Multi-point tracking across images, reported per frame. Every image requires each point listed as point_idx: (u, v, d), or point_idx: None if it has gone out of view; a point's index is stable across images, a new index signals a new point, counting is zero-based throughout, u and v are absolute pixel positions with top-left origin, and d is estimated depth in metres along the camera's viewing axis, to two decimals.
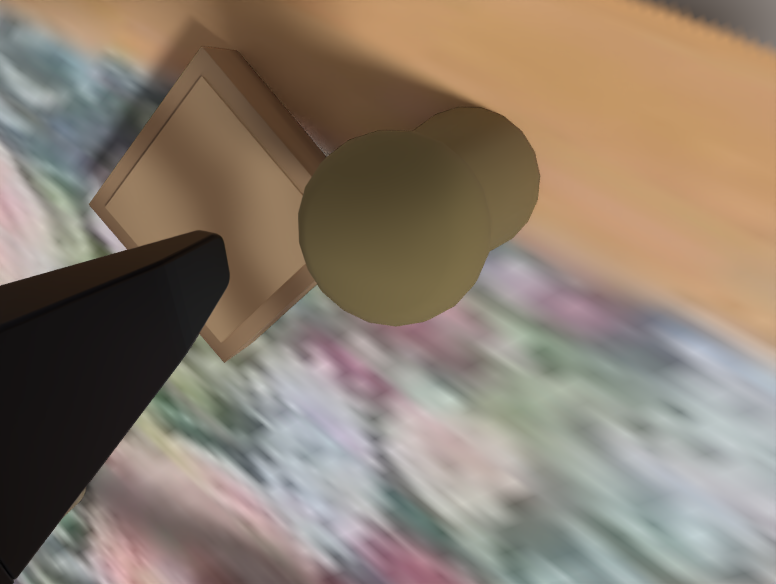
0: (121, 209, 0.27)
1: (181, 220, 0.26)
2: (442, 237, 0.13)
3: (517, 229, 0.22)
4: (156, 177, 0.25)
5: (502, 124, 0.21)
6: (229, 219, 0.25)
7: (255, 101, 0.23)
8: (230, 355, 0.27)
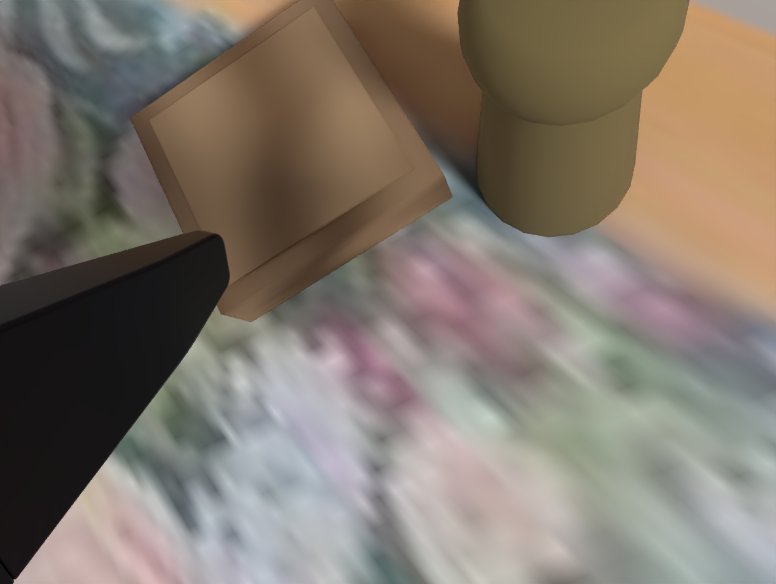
0: (167, 124, 0.24)
1: (235, 140, 0.23)
2: None
3: (613, 199, 0.20)
4: (223, 94, 0.24)
5: None
6: (292, 143, 0.22)
7: None
8: (232, 304, 0.22)
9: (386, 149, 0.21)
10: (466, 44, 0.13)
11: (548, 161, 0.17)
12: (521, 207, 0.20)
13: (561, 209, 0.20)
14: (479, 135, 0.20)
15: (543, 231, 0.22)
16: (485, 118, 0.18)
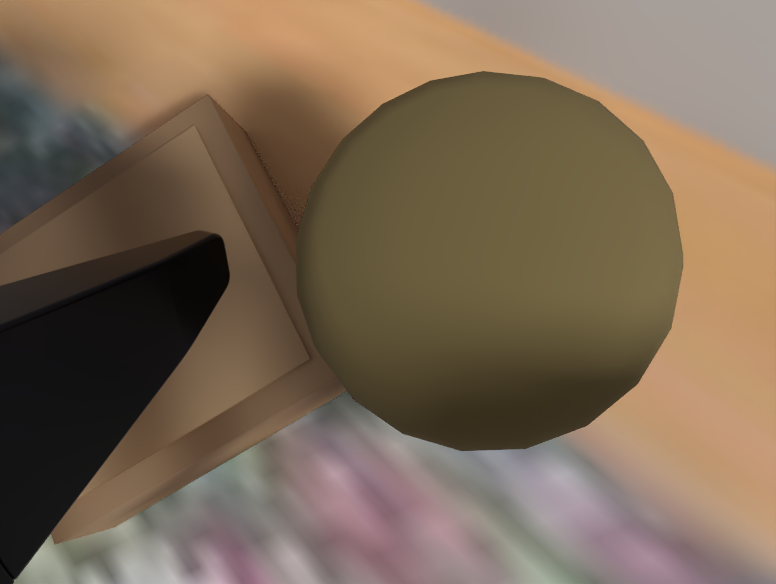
0: (7, 271, 0.18)
1: None
2: (628, 232, 0.06)
3: None
4: (77, 236, 0.18)
5: None
6: None
7: (252, 171, 0.18)
8: (70, 532, 0.16)
9: (275, 330, 0.16)
10: None
11: None
12: None
13: None
14: None
15: None
16: None
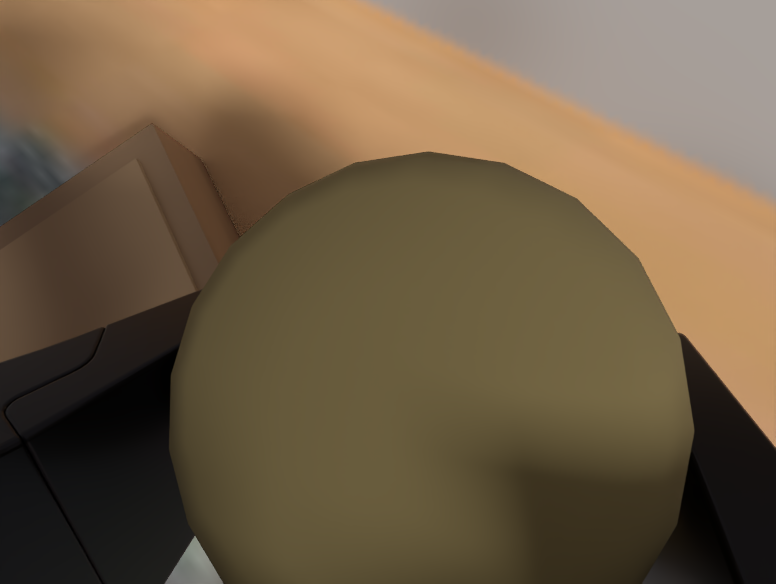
0: None
1: None
2: (614, 421, 0.04)
3: None
4: (6, 283, 0.16)
5: None
6: None
7: (202, 210, 0.16)
8: None
9: None
10: None
11: None
12: None
13: None
14: None
15: None
16: None
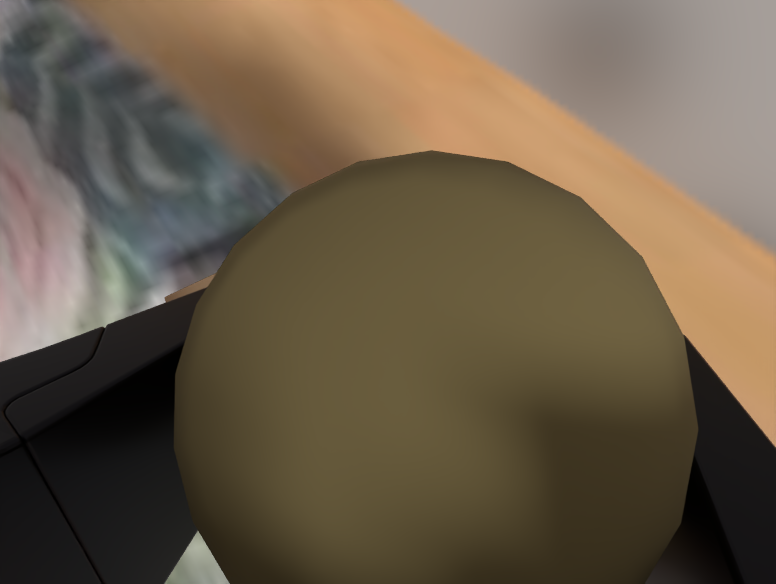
0: None
1: None
2: (618, 418, 0.04)
3: None
4: None
5: None
6: None
7: None
8: None
9: None
10: None
11: None
12: None
13: None
14: None
15: None
16: None
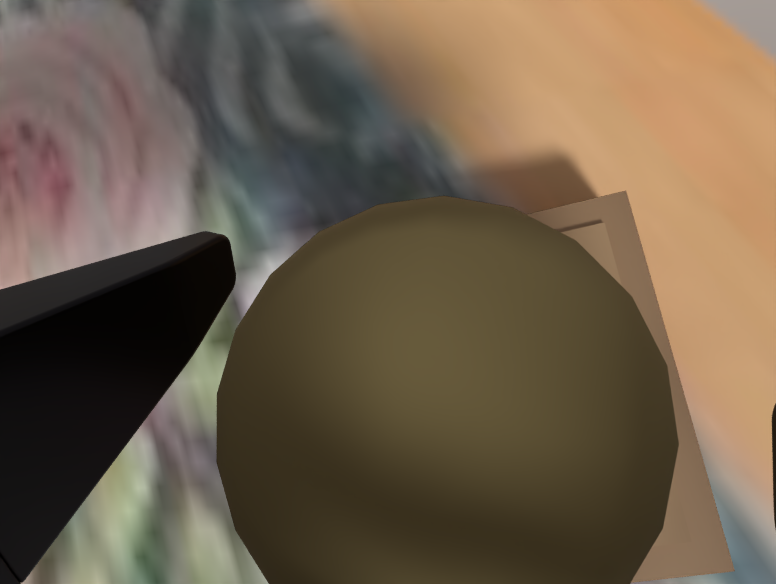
0: None
1: None
2: (608, 439, 0.05)
3: None
4: None
5: None
6: None
7: None
8: None
9: None
10: None
11: None
12: None
13: None
14: None
15: None
16: None
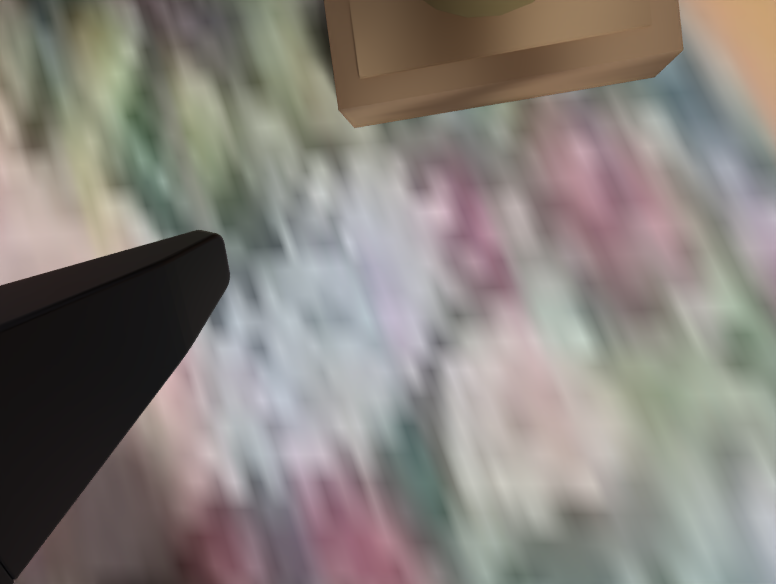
0: None
1: None
2: None
3: None
4: None
5: None
6: None
7: None
8: (357, 104, 0.17)
9: None
10: None
11: None
12: None
13: None
14: None
15: (460, 6, 0.16)
16: None
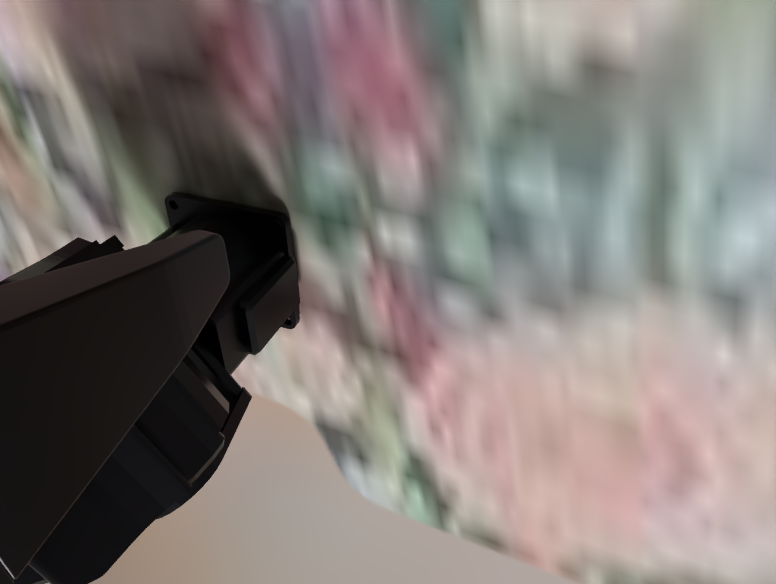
0: None
1: None
2: None
3: None
4: None
5: None
6: None
7: None
8: None
9: None
10: None
11: None
12: None
13: None
14: None
15: None
16: None
